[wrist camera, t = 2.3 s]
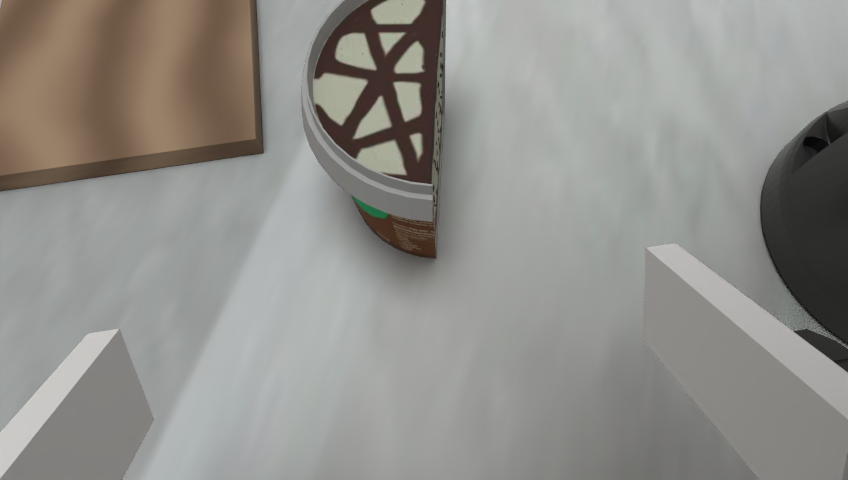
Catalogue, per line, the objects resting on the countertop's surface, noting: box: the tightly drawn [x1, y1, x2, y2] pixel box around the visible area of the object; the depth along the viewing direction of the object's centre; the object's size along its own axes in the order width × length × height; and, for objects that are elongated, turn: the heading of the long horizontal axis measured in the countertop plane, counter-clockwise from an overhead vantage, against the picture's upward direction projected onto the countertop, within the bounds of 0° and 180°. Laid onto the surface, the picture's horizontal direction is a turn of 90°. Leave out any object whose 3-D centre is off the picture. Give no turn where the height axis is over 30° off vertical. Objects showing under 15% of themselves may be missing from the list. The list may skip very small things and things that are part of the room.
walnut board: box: [0, 0, 263, 191], centre depth 36 cm, size 16×16×2 cm
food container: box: [301, 0, 446, 258], centre depth 28 cm, size 12×6×10 cm, turn 177°
